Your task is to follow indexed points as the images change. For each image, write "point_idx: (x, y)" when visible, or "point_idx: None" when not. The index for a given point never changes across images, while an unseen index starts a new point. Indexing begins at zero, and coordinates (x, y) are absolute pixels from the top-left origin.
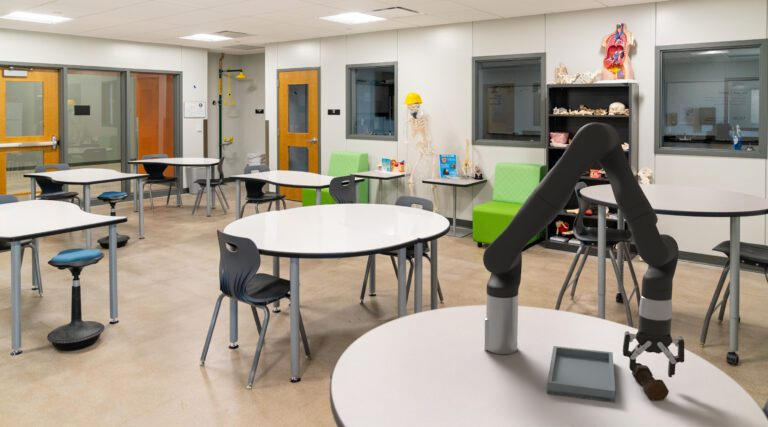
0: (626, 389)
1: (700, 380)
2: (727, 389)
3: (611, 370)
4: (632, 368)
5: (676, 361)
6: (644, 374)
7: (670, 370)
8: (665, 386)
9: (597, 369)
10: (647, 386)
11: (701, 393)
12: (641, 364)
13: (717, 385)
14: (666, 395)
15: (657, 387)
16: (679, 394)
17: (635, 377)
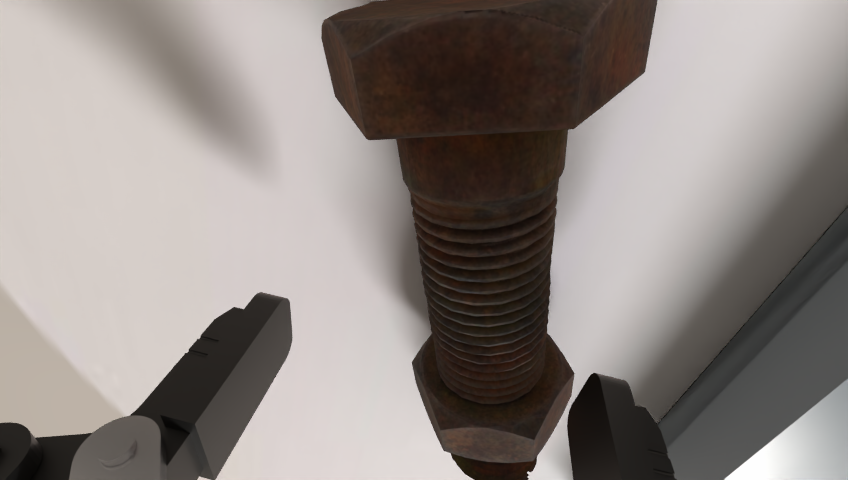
0: (695, 216)
1: (152, 329)
2: (6, 239)
3: (813, 432)
4: (631, 425)
5: (92, 451)
6: (512, 341)
7: (235, 348)
8: (341, 19)
9: (794, 465)
10: (631, 11)
11: (120, 181)
12: (463, 469)
13: (64, 280)
14: (365, 5)
15: (467, 2)
16: (259, 155)
17: (556, 350)
